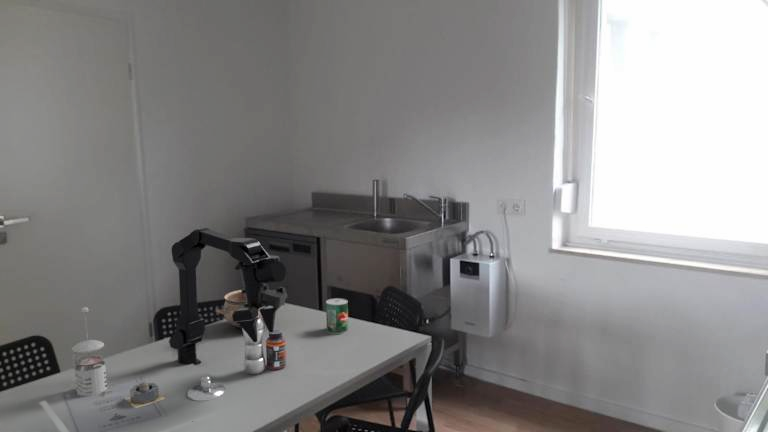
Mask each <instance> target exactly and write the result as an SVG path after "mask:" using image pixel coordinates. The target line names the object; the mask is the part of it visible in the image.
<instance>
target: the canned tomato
mask: <svg viewBox="0 0 768 432" xmlns="http://www.w3.org/2000/svg"><path fill="white" fill-rule="evenodd" d="M348 302H349V301H348V299H346V298H339V297H335V298H330V299H327V300H326V301H325V304H326V305H325V308H326V314H325V315H326V332H327V333H328V334H331V335H342V334H346V333H348V331H349V308H348V307H349V305H348Z"/></svg>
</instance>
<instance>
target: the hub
mask: <svg viewBox="0 0 768 432" xmlns="http://www.w3.org/2000/svg"><path fill="white" fill-rule="evenodd" d="M225 393H226V386H225V385H224V384H221V383H217V382H212V379H211V377H210V375H206V374H205V375H203V376H202V377H201V379H200V384H198V385H194V386H192V387H191V388H190V389H189V390H188V391H187V397H188V398H189V399H190V400H193V401H198V402H199V401H201V402H202V401H209V400H214V399H218V398H219V397H221V396H222V395H224V394H225Z"/></svg>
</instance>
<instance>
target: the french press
mask: <svg viewBox="0 0 768 432" xmlns="http://www.w3.org/2000/svg"><path fill="white" fill-rule="evenodd" d="M89 311H90V310H89V307H87V306H86V307H82V308H81V309H80V312H81V313H84V319H85V321H84V323H85V329H86V331H85V332H86V340H83V341H81V342H78V343H76V344H75V345H74V346H72V347H71V350H72V351H73V354H72V363H73V367H74V373H75V374H74V377H75V386H76V387H75V388H76V394H77V395H78V396H82V397H88V396H89V397H90V396H95V395H98V394H101V393H103V392H105V391H106V390H107V389H108V381H107V372H106V371H107V369H106V362H105V361H104V356H101V355H90V353H92V352H96V351H99V350H101V349H103V348H104V346H105V343H104V342H103V341H100V340H95V339H89V335H88V323H87V314H86V313H88V312H89ZM75 353H76V354H77V355H78V359H76V361H75V359H74V358H75ZM81 354H88V355H87V356H83V357H80V355H81ZM96 365H97V366H96ZM83 379H84V380H83Z"/></svg>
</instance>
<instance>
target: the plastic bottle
mask: <svg viewBox="0 0 768 432" xmlns="http://www.w3.org/2000/svg"><path fill="white" fill-rule="evenodd" d="M258 314H259V312H258ZM258 317H259V316H258ZM256 318H257V317H256ZM256 326H257V342H253V341H252V339H251V338H250V337H249V335H248V334H247V333H246V331H245V330H244V329H243V328H241V329H242V335H243V341H244V359H243V368H244V370H245V372H246V373H247V374H249V375H250V374H251V375H255V374H256V375H257V374H259V373H260V374H261V373H262V372H264V370H265V368H266V359H265V354H264V347H263V337H264V336H263V335H264V324H263V322H262V320H261V319H260V317H259V320H258V321H257V323H256Z"/></svg>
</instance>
